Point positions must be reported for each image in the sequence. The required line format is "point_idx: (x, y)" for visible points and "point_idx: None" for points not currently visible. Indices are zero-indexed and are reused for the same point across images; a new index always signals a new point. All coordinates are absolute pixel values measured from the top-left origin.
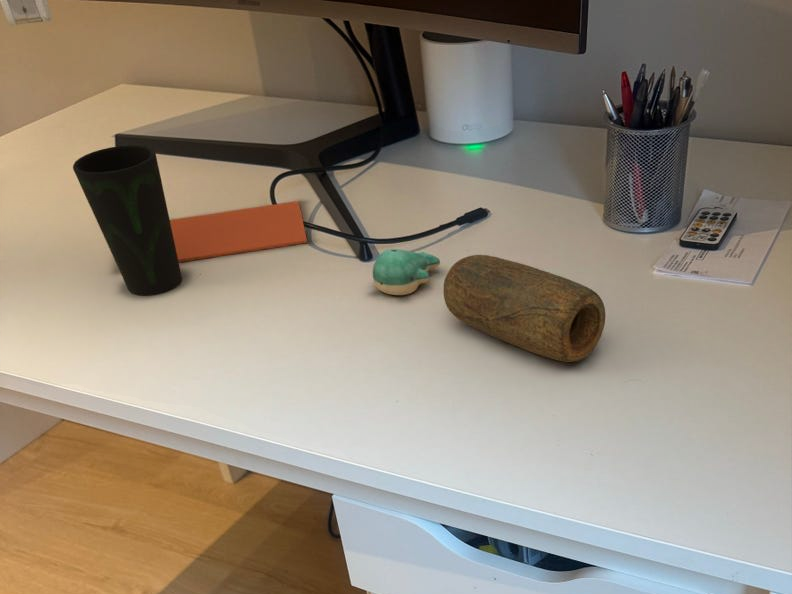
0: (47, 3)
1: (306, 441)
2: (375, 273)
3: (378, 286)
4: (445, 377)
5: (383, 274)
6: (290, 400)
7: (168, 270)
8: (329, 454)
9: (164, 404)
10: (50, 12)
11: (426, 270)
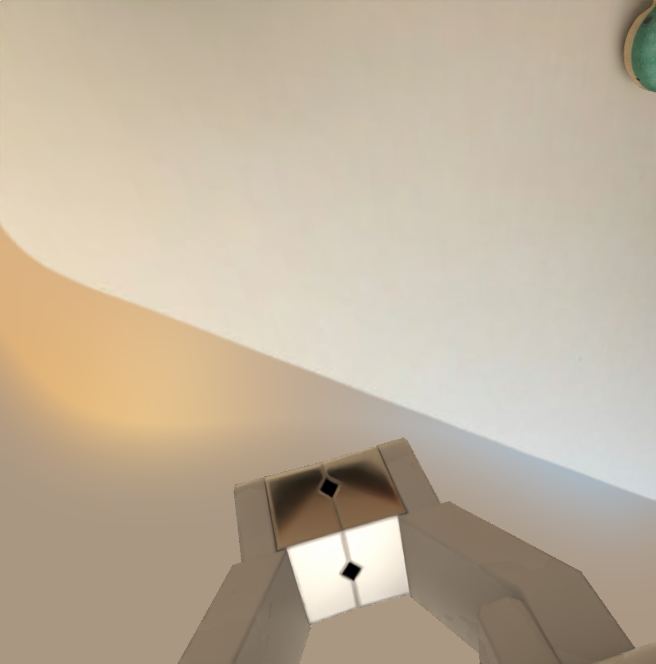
0: (417, 461)
1: (482, 424)
2: (642, 67)
3: (629, 72)
4: (639, 314)
5: (654, 83)
6: (468, 354)
7: None
8: (502, 442)
9: (314, 359)
10: (405, 439)
11: None
